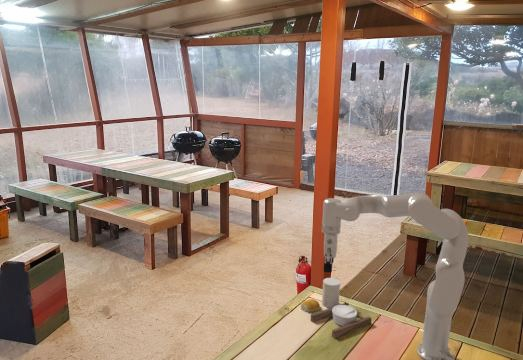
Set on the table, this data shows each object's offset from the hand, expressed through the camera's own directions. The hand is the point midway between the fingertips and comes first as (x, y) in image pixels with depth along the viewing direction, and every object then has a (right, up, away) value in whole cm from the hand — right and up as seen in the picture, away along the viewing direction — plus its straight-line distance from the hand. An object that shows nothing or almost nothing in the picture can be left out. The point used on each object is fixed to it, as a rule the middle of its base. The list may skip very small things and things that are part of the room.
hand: (328, 267), depth 178 cm
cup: (+6, -25, +31) cm, 40 cm away
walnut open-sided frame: (+8, -28, +15) cm, 32 cm away
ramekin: (+9, -28, +16) cm, 34 cm away
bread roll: (-5, -26, +26) cm, 37 cm away
